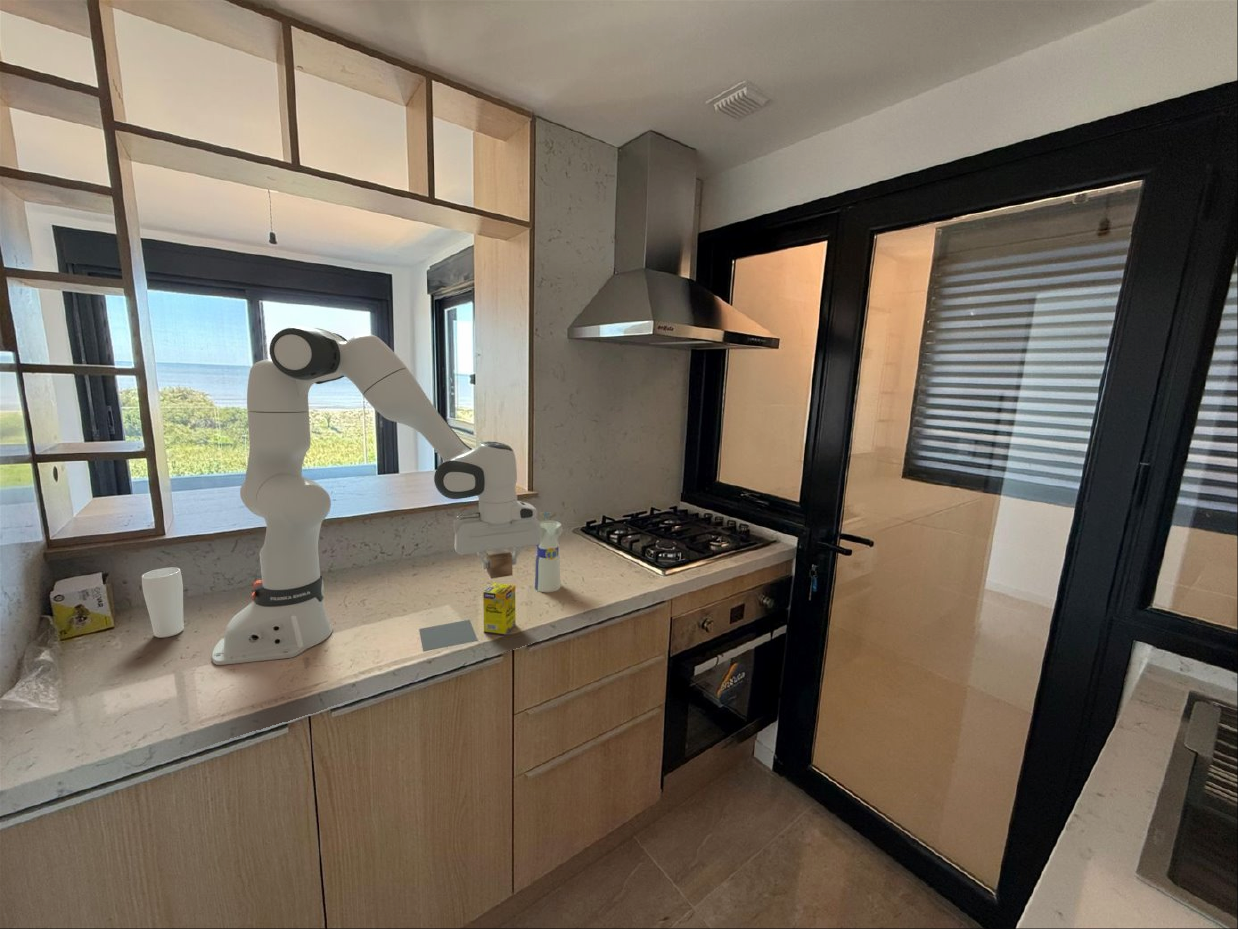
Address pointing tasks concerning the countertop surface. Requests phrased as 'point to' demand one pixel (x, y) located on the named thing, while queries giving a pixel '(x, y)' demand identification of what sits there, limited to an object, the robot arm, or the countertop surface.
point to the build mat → (447, 635)
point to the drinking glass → (164, 600)
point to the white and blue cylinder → (548, 556)
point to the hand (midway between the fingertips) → (499, 566)
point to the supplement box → (499, 609)
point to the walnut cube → (499, 563)
